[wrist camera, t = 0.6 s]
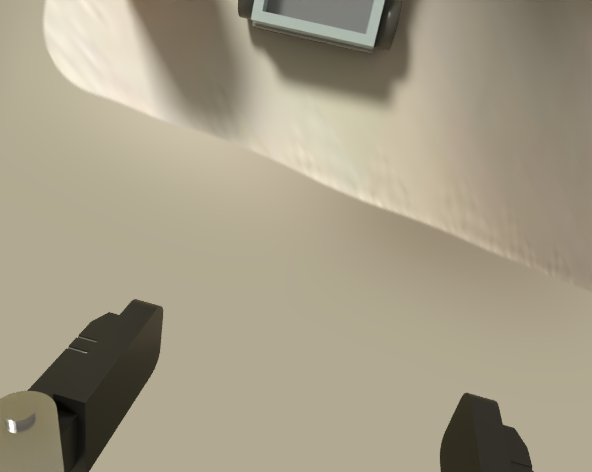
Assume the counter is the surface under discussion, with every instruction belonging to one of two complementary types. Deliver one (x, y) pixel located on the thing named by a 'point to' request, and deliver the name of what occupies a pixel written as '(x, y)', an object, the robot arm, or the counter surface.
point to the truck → (328, 20)
